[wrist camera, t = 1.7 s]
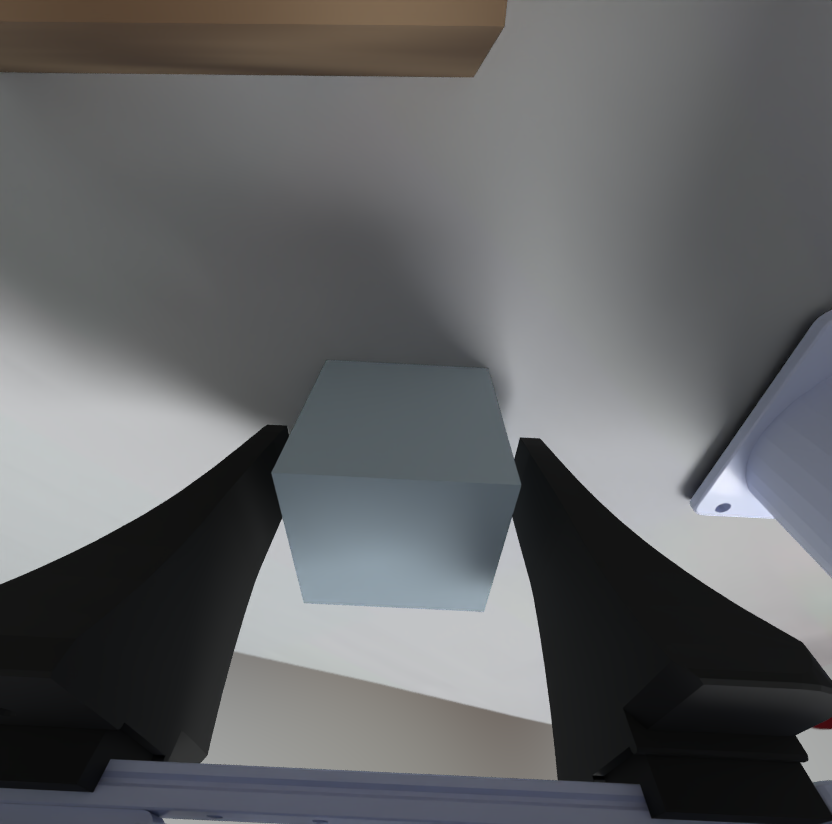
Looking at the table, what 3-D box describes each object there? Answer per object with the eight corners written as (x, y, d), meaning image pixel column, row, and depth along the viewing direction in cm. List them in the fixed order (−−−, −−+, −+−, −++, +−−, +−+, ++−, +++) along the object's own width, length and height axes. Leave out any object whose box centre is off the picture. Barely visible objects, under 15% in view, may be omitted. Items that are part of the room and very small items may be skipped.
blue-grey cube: (487, 366, 11) (521, 485, 7) (467, 480, 14) (484, 611, 10) (326, 358, 11) (271, 472, 7) (339, 474, 14) (304, 603, 10)
